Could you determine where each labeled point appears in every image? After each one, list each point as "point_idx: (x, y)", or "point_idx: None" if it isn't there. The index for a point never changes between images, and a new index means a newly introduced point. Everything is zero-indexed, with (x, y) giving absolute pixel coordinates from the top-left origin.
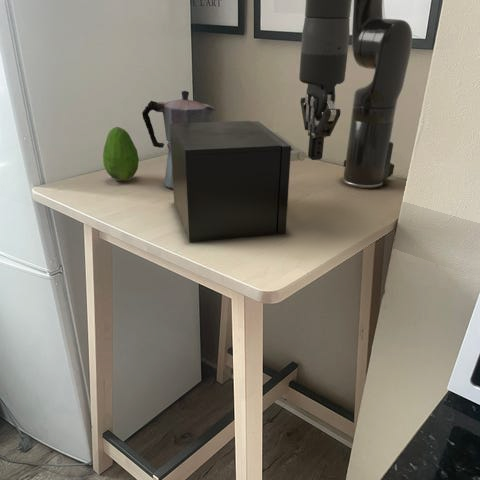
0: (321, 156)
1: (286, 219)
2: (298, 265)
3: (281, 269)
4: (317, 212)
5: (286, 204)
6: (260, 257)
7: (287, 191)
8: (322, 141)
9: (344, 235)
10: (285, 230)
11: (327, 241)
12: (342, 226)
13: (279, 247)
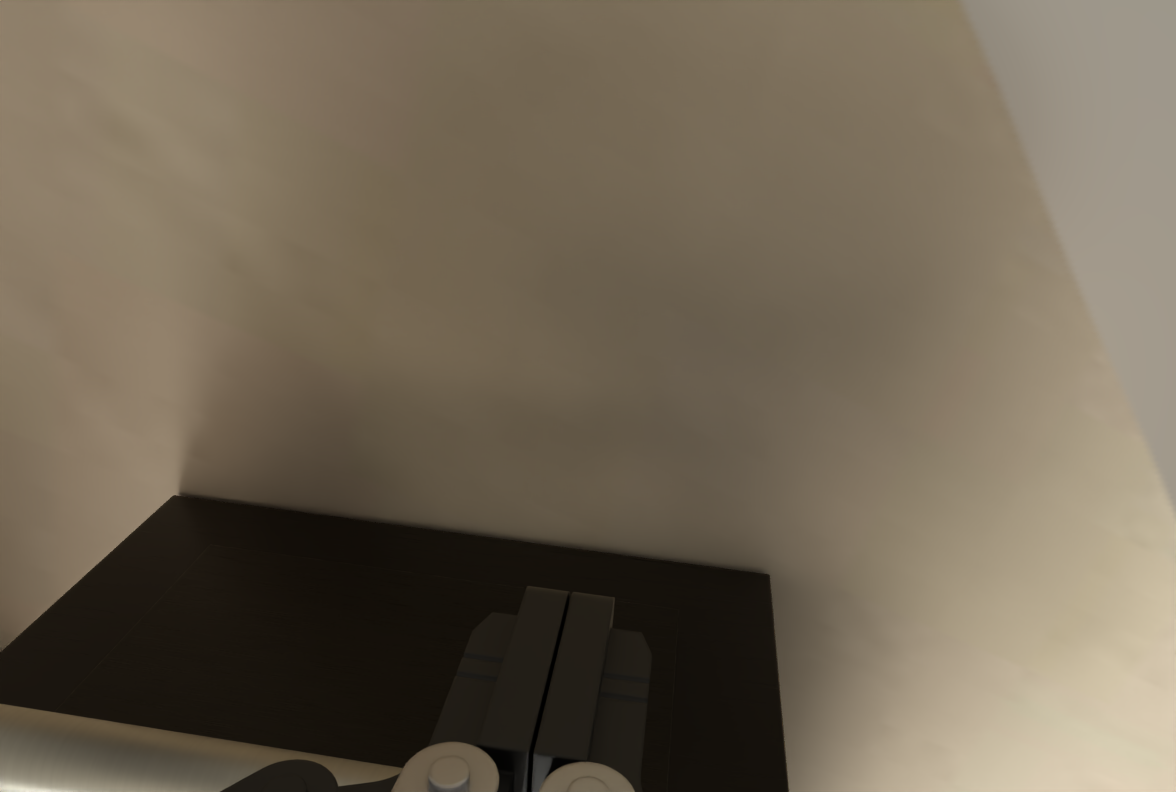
0: (609, 611)
1: (773, 631)
2: (1152, 671)
3: (1145, 749)
4: (480, 231)
5: (778, 706)
6: (974, 773)
7: (786, 778)
8: (638, 775)
9: (920, 253)
10: (770, 589)
11: (955, 401)
12: (774, 186)
13: (908, 660)
